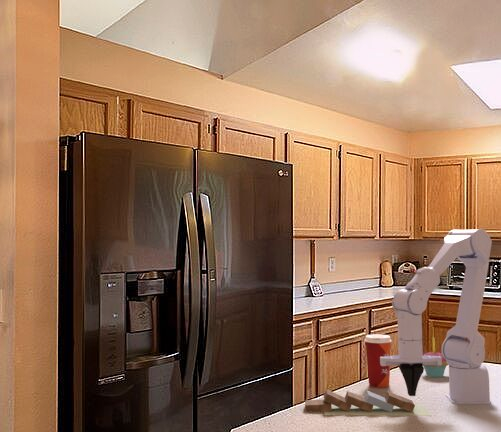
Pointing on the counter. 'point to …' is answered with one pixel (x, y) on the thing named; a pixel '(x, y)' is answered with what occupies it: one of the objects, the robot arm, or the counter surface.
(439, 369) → the cupcake
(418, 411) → the mat
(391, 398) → the tile
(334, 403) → the tile
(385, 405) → the tile
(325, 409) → the tile
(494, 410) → the counter surface
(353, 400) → the tile
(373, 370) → the paper cup
